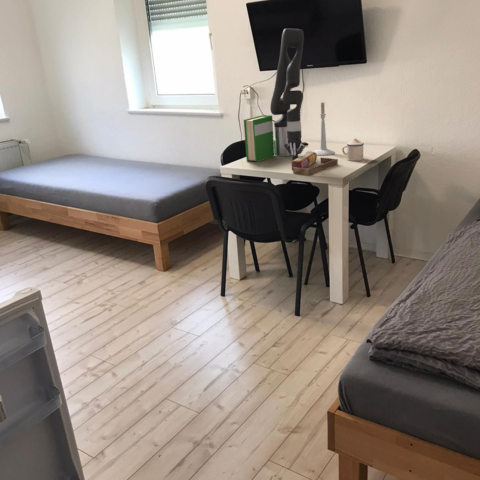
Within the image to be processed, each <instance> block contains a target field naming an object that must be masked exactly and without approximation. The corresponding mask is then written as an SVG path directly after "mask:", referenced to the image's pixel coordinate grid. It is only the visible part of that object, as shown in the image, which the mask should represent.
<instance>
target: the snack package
mask: <svg viewBox="0 0 480 480" xmlns="http://www.w3.org/2000/svg"><path fill="white" fill-rule="evenodd" d="M317 159H318V156H317V155H316V153H315V152H314V151H311V150H310V151H307V152H305V153H304V154H301V155H300V156H298V158H297V159H295V160H292V161H291V171H292V172H293V167H297V168H305V169H308V167H310V166H312V165H313V164H315V163H316V162H317Z"/></svg>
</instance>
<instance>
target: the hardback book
mask: <svg viewBox="0 0 480 480" xmlns="http://www.w3.org/2000/svg"><path fill="white" fill-rule="evenodd" d="M243 131H244V132H243V133H244V144H245V146H244V147H245V158H246V162H249V161H255V163H258V161H259V162H261V160H262V161H264V160H267V159H269V158H273V157H275V155H274V122H273V114H271V115H269V114H266V115H265V114H263V115H262V114H261V115H257V116H253V117H250V118H246V119H243Z"/></svg>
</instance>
